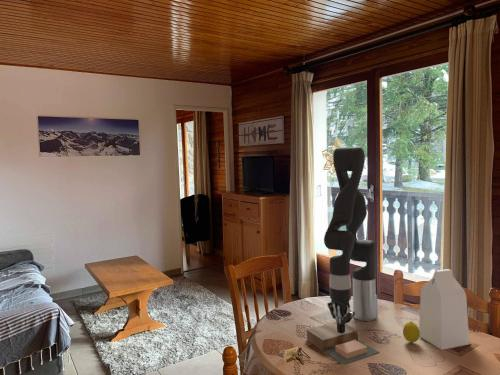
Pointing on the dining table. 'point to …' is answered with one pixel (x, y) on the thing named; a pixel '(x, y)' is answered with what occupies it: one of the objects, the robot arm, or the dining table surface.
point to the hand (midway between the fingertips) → (341, 332)
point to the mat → (344, 361)
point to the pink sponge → (351, 349)
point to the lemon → (411, 332)
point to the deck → (330, 336)
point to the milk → (443, 311)
